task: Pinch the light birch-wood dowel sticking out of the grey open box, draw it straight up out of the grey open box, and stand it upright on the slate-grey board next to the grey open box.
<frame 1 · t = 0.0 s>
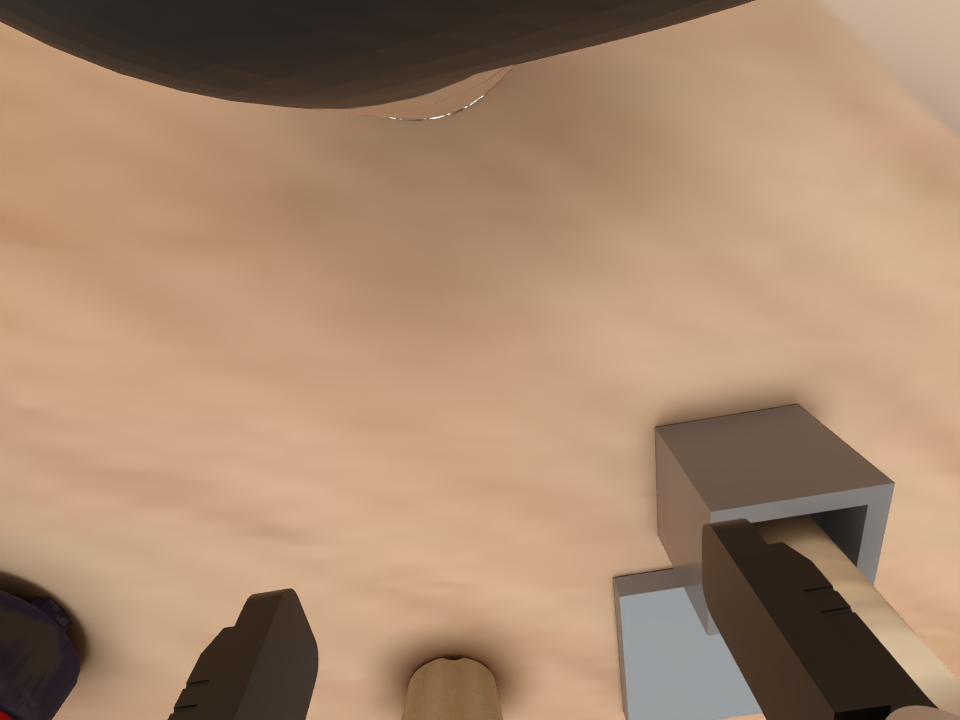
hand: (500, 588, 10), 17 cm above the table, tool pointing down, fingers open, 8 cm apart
board: (718, 634, 37), on the table
grey open box: (724, 473, 31), on the table
flower pot: (453, 680, 38), on the table
grenade: (13, 634, 34), on the table
dowel: (732, 484, 30), point 1 cm above the table, touching grey open box
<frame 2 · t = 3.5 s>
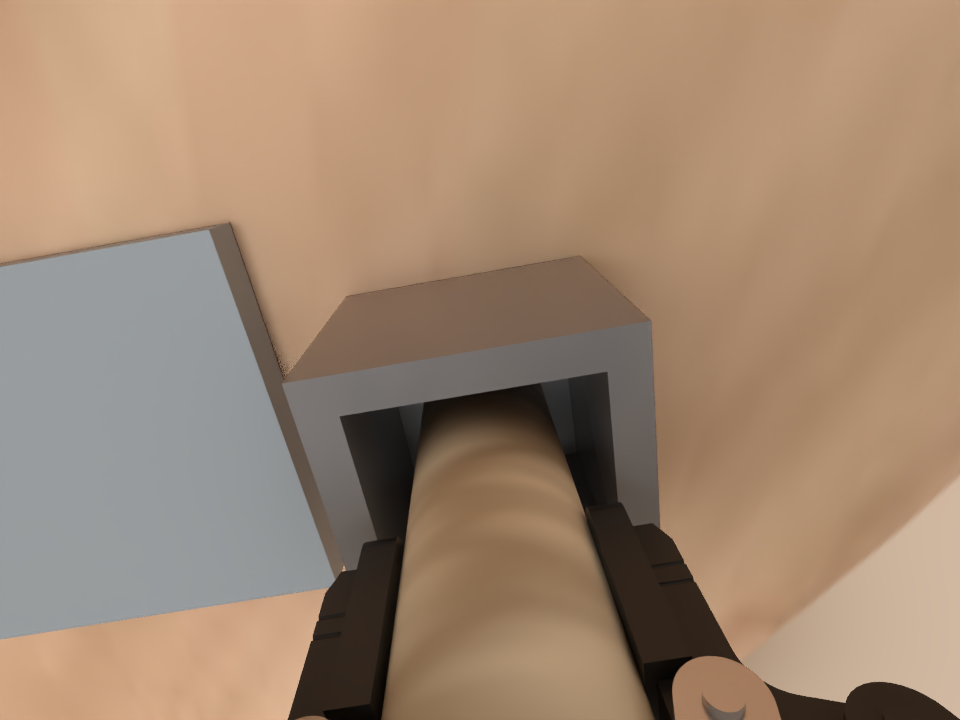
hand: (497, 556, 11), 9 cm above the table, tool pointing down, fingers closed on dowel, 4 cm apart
board: (112, 444, 20), on the table
grey open box: (481, 382, 19), on the table
dowel: (483, 394, 18), point 1 cm above the table, touching grey open box, gripper
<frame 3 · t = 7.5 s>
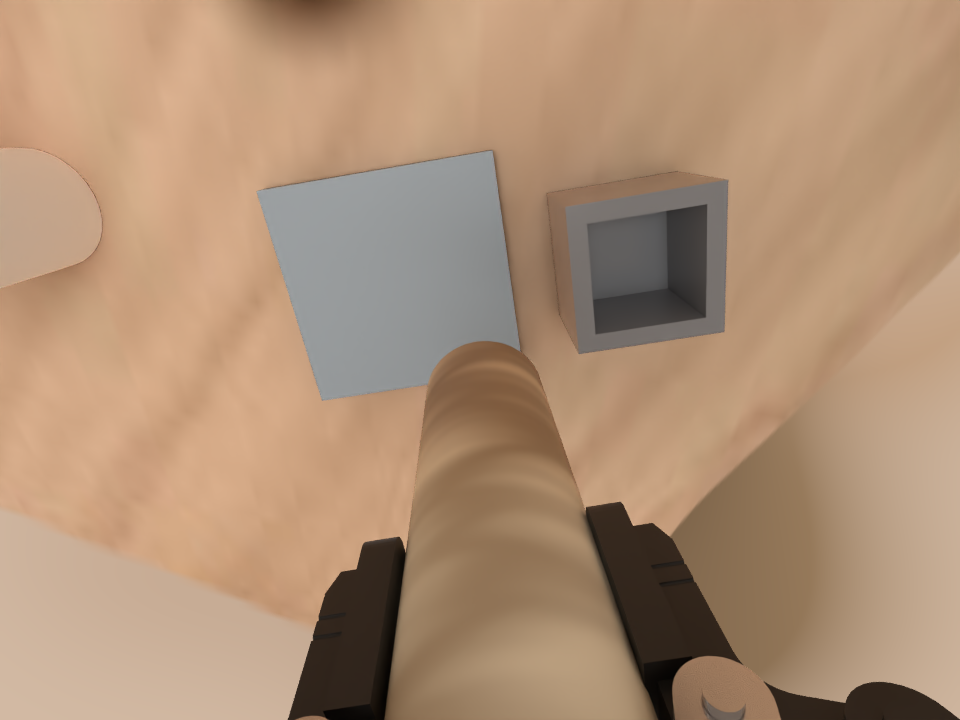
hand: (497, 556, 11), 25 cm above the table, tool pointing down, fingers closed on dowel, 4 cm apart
board: (402, 281, 34), on the table
grey open box: (614, 246, 34), on the table
cylindrical container: (44, 209, 32), on the table
dowel: (484, 394, 18), point 17 cm above the table, touching gripper
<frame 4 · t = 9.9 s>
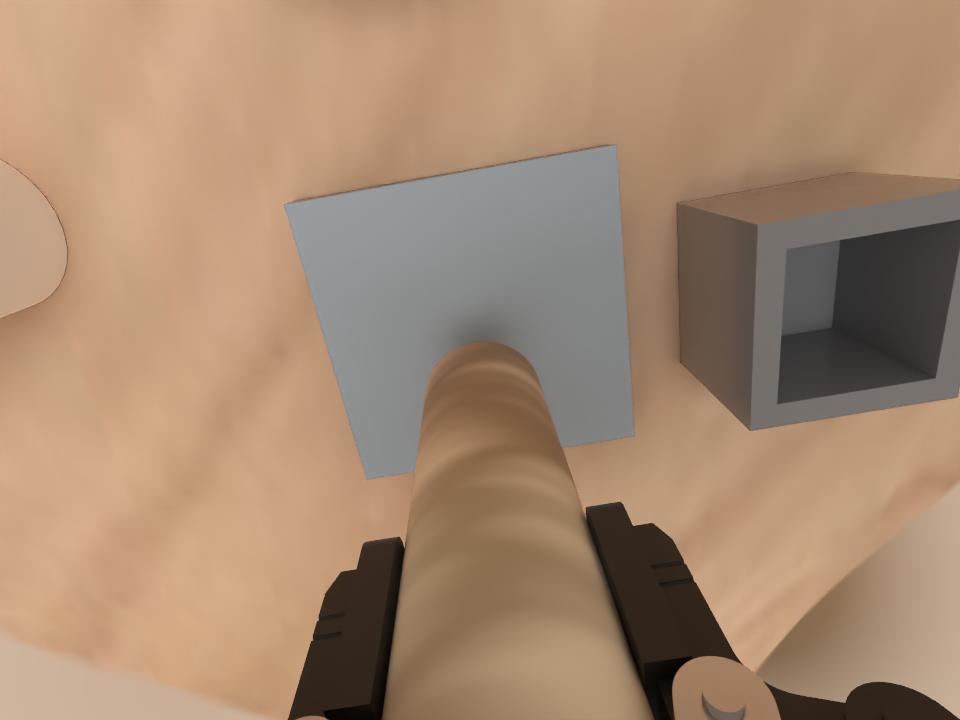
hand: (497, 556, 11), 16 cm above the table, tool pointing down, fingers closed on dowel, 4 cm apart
board: (476, 322, 26), on the table
grey open box: (761, 273, 25), on the table
dowel: (483, 395, 18), point 8 cm above the table, touching gripper
when the fingers open (10 cm above the table, at t = 11.6 s): dowel stays where it is, resting on board.
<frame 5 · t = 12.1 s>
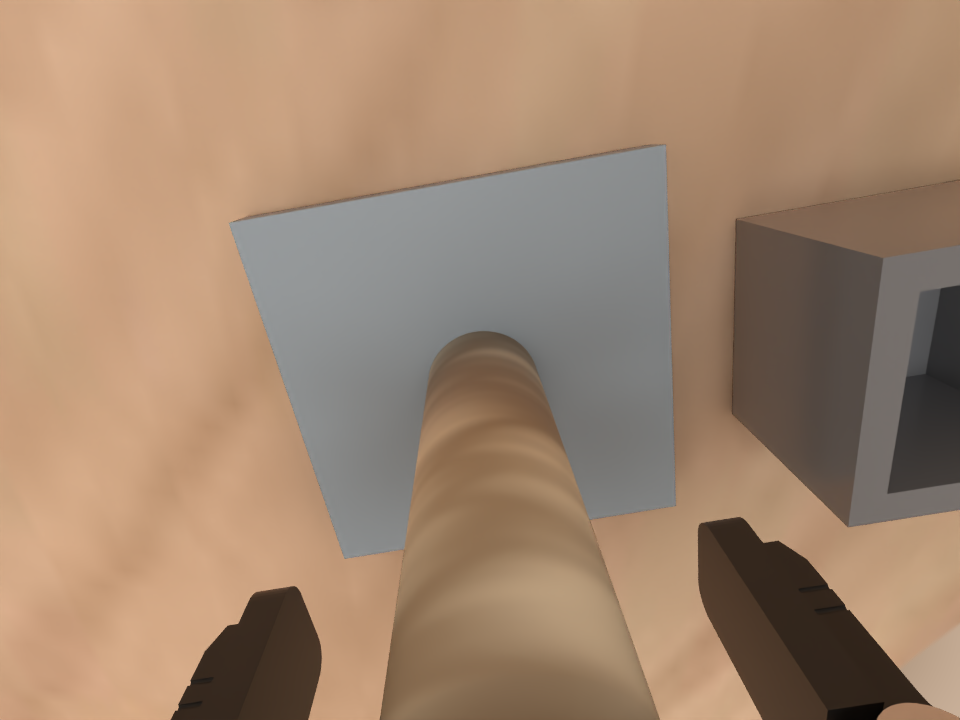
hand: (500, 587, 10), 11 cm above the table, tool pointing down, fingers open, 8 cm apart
board: (479, 366, 20), on the table
grey open box: (837, 306, 20), on the table
dowel: (483, 383, 19), point 2 cm above the table, touching board
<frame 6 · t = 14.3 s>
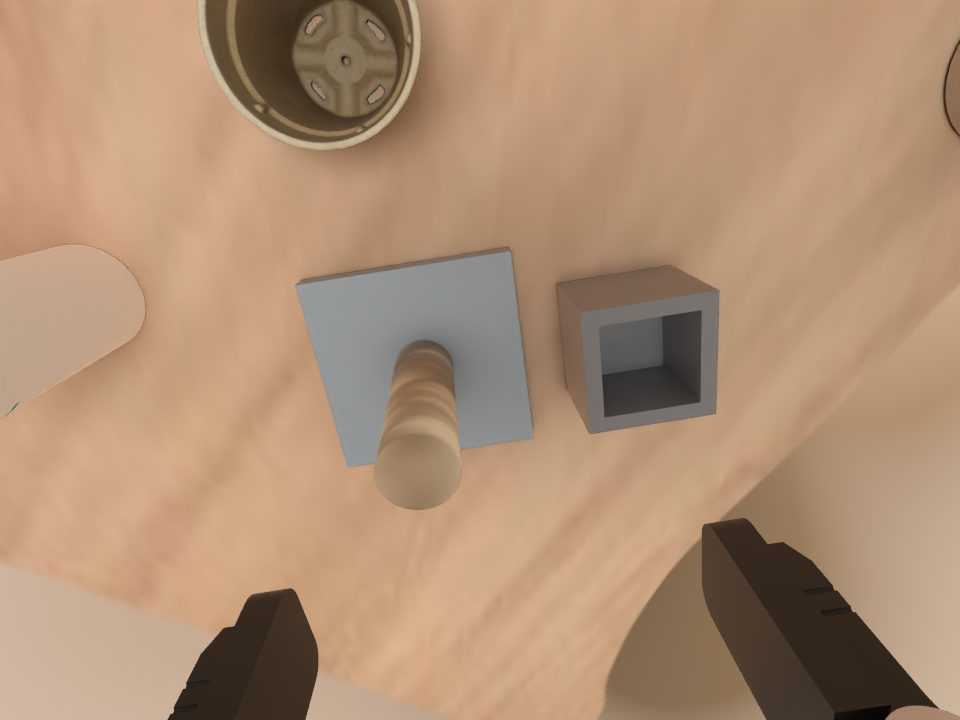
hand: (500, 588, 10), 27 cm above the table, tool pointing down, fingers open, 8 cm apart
board: (424, 359, 38), on the table
grey open box: (616, 328, 38), on the table
flower pot: (347, 64, 31), on the table
cylindrical container: (90, 297, 35), on the table
dowel: (424, 367, 36), point 2 cm above the table, touching board
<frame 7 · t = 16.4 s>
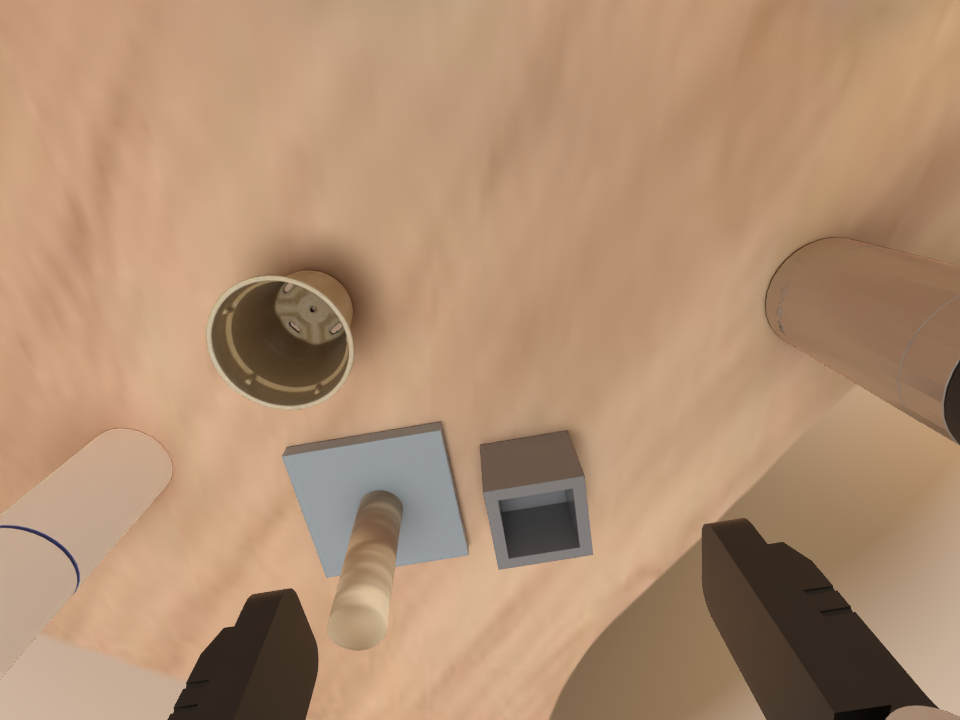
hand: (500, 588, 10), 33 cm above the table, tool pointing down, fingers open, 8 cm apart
board: (382, 498, 49), on the table
grey open box: (529, 474, 49), on the table
flower pot: (314, 308, 42), on the table
cylindrical container: (132, 461, 47), on the table
dowel: (380, 508, 48), point 2 cm above the table, touching board
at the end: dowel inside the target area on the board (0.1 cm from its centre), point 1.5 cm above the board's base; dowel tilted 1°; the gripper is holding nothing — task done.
